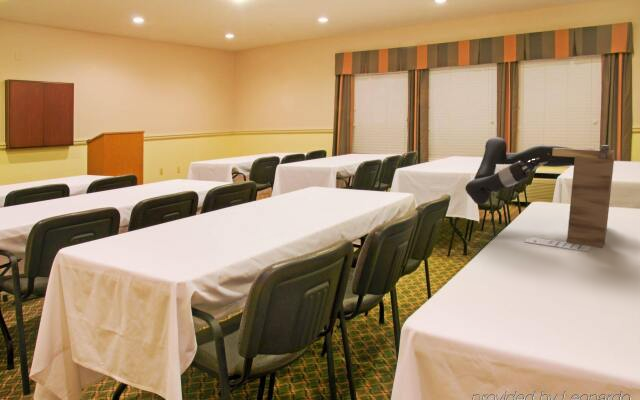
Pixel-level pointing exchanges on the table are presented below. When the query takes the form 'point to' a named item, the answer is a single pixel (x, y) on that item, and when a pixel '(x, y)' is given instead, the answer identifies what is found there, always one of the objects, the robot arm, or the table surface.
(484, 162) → the robot arm
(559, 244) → the letter
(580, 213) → the brown piece
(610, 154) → the block
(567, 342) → the table surface
